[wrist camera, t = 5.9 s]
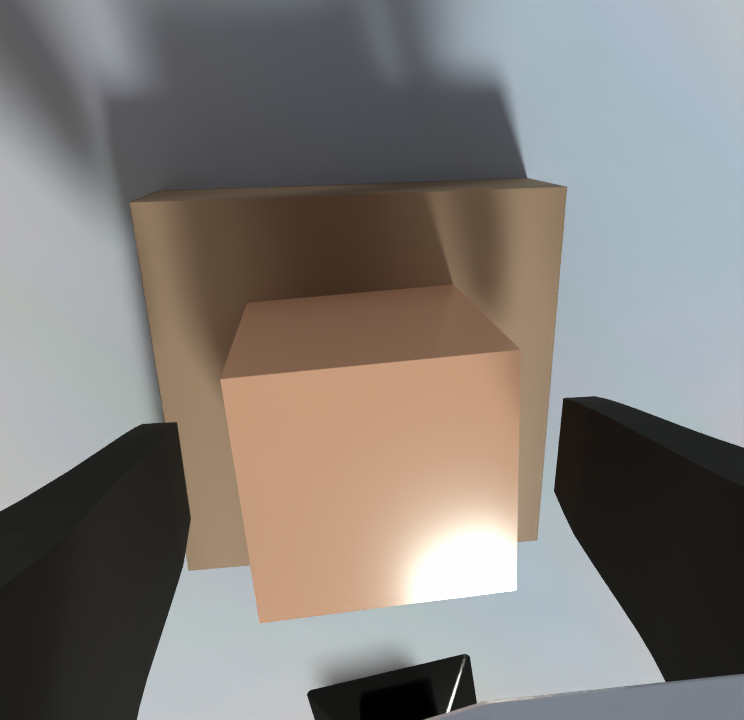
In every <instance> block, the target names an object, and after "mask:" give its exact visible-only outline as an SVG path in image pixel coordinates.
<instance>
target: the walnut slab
mask: <svg viewBox="0 0 744 720" xmlns="http://www.w3.org/2000/svg"><path fill="white" fill-rule="evenodd" d="M566 193H567V187H565V186H561V185H556V184H552V183H547V182H543V181H538V180H533V179H529V178H516V179H487V180H458V181H429V182H400V183H371V184H343V185H314V186H285V187H256V188H227V189H198V190H170V191H156V192H154V193H151V194H149V195H147V196H144V197H142V198H139V199H137V200H135V201H132V202H130V208H131V214H132V220H133V226H134V233H135V239H136V245H137V251H138V258H139V264H140V270H141V276H142V282H143V289H144V295H145V301H146V307H147V314H148V320H149V326H150V332H151V339H152V345H153V351H154V357H155V364H156V370H157V376H158V382H159V389H160V395H161V401H162V407H163V414H164V420H165V423H168V422H177V425H178V432H179V439H180V446H181V453H182V460H183V467H184V474H185V481H186V487H187V494H188V501H189V508H190V515H191V522H190V528H189V534H188V541H187V547H186V557H187V563H188V570H189V571H190V570H202V569H213V568H225V567H236V566H248V565H250V560H249V554H248V548H247V542H246V536H245V529H244V523H243V517H242V511H241V505H240V499H239V492H238V486H237V480H236V474H235V468H234V461H233V455H232V449H231V443H230V437H229V431H228V424H227V418H226V412H225V406H224V400H223V394H222V387H221V381H220V378H221V375H222V373H223V370H224V367H225V364H226V361H227V358H228V355H229V352H230V350H231V347H232V344H233V341H234V338H235V335H236V332H237V330H238V327H239V324H240V321H241V318H242V315H243V312H244V310H245V307H246V304H247V303H250V302H261V301H272V300H283V299H294V298H306V297H317V296H328V295H339V294H351V293H362V292H373V291H385V290H396V289H407V288H419V287H430V286H441V285H452V284H453V285H454V286H455V287H456V288H457V289H458V290H459V291H461V292H462V293H463V294H464V295H465V296H466V297H467V298H468V299H469V300H470V301H471V302H472V303H473V304H474V305H475V306H476V307H477V308H478V309H479V310H480V311H481V312H482V313H483V314H484V315H485V316H486V317H487V318H489V319H490V320H491V321H492V322H493V323H494V324H495V325H496V326H497V327H498V328H499V329H500V330H501V331H502V332H503V333H504V334H505V335H506V336H507V337H508V338H509V339H510V340H511V341H512V342H513V343H514V344H515V345H516V346H518V347H519V348H520V349H521V366H520V420H519V474H518V528H517V542H523V541H534V540H537V536H538V524H539V512H540V500H541V489H542V477H543V465H544V453H545V441H546V430H547V418H548V406H549V394H550V382H551V370H552V359H553V347H554V335H555V323H556V311H557V300H558V288H559V276H560V264H561V252H562V240H563V229H564V217H565V205H566Z"/></svg>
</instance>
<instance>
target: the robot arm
mask: <svg viewBox="0 0 744 720" xmlns="http://www.w3.org/2000/svg"><path fill="white" fill-rule="evenodd" d="M554 492H555V494H556V497H557V499H558V501H559V504H560V506H561V508H562V510H563V513H564V515H565V517H566V519H567V521H568V523H569V525H570V527H571V529H572V531H573V534H574V535H575V537H576V538H577V540H578V542H579V543H580V545H581V546H582V548H583V549H584V551H585V552H586V554H587V556H588V557H589V559H590V560H591V562H592V563H593V565H594V566H595V568H596V569H597V571H598V572H599V574H600V575H601V577H602V578H603V580H604V581H605V583H606V584H607V586H608V587H609V589H610V590H611V592H612V593H613V595H614V596H615V598H616V599H617V601H618V602H619V604H620V605H621V607H622V608H623V610H624V611H625V613H626V614H627V616H628V617H629V619H630V620H631V622H632V624H633V625H634V627H635V628H636V630H637V631H638V633H639V634H640V636H641V638H642V639H643V641H644V643H645V644H646V646H647V648H648V649H649V651H650V653H651V654H652V656H653V658H654V660H655V662H656V664H657V666H658V668H659V670H660V672H661V674H662V676H663V677H664V679H665V681H666V682H662V683H653V684H644V685H634V686H625V687H616V688H606V689H597V690H588V691H578V692H569V693H560V694H550V695H541V696H532V697H522V698H513V699H504V700H494V701H485V702H480V703H477V704H474V705H470V706H467V707H464V708H461V709H457V710H454V711H451V712H447V713H444V714H441V715H438V716H434V717H431V718H428V719H425V720H744V448H743V447H740V446H737V445H734V444H731V443H728V442H725V441H722V440H719V439H716V438H713V437H710V436H708V435H705V434H702V433H699V432H696V431H694V430H691V429H688V428H686V427H683V426H680V425H678V424H675V423H672V422H670V421H667V420H664V419H662V418H659V417H657V416H654V415H651V414H649V413H646V412H643V411H641V410H638V409H635V408H632V407H630V406H627V405H624V404H621V403H618V402H615V401H612V400H608V399H604V398H600V397H595V396H592V397H576V398H563V407H562V417H561V427H560V437H559V447H558V457H557V467H556V477H555V487H554ZM190 522H191V515H190V508H189V501H188V494H187V487H186V481H185V474H184V467H183V460H182V453H181V446H180V439H179V432H178V425H177V422H168V423H152V424H142V425H139V426H137V427H135V428H134V429H132V430H130V431H129V432H127V433H125V434H124V435H122V436H121V437H119V438H118V439H116V440H115V441H113V442H112V443H110V444H109V445H107V446H106V447H104V448H103V449H101V450H100V451H98V452H97V453H95V454H94V455H92V456H91V457H89V458H88V459H86V460H85V461H83V462H82V463H80V464H79V465H77V466H76V467H74V468H73V469H71V470H70V471H68V472H66V473H65V474H63V475H62V476H60V477H58V478H57V479H55V480H53V481H52V482H50V483H48V484H47V485H45V486H43V487H42V488H40V489H38V490H37V491H35V492H34V493H32V494H30V495H29V496H27V497H25V498H24V499H22V500H20V501H18V502H17V503H15V504H13V505H11V506H9V507H8V508H6V509H4V510H2V511H0V720H137V716H138V711H139V707H140V703H141V699H142V696H143V692H144V688H145V685H146V681H147V677H148V674H149V671H150V668H151V665H152V662H153V659H154V656H155V653H156V650H157V646H158V643H159V640H160V637H161V634H162V631H163V628H164V625H165V622H166V619H167V616H168V612H169V609H170V606H171V603H172V600H173V597H174V594H175V590H176V587H177V584H178V581H179V578H180V574H181V571H182V568H183V563H184V558H185V552H186V547H187V541H188V534H189V528H190Z"/></svg>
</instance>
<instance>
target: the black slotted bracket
mask: <svg viewBox="0 0 744 720" xmlns="http://www.w3.org/2000/svg"><path fill="white" fill-rule="evenodd" d="M307 696H308V699H309V703H310V706H311V709H312V712H313V715H314V719H315V720H425V719H428V718H431V717H434V716H438V715H441V714H444V713H447V712H451V711H454V710H457V709H461V708H464V707H467V706H470V705H474V704H477V701H476V695H475V688H474V681H473V675H472V668H471V662H470V657H469V655H467V654H463V655H458V656H454V657H450V658H446V659H441V660H437V661H433V662H429V663H424V664H420V665H416V666H411V667H407V668H403V669H399V670H394V671H390V672H386V673H382V674H377V675H373V676H369V677H365V678H360V679H356V680H352V681H348V682H343V683H339V684H335V685H331V686H326V687H322V688H318V689H314V690H310V691H309V692H308V694H307Z"/></svg>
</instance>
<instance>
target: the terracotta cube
mask: <svg viewBox="0 0 744 720" xmlns="http://www.w3.org/2000/svg"><path fill="white" fill-rule="evenodd" d="M520 366H521V349H520V348H519V347H518V346H516V345H515V344H514V343H513V342H512V341H511V340H510V339H509V338H508V337H507V336H506V335H505V334H504V333H503V332H502V331H501V330H500V329H499V328H498V327H497V326H496V325H495V324H494V323H493V322H492V321H491V320H490V319H489V318H487V317H486V316H485V315H484V314H483V313H482V312H481V311H480V310H479V309H478V308H477V307H476V306H475V305H474V304H473V303H472V302H471V301H470V300H469V299H468V298H467V297H466V296H465V295H464V294H463V293H462V292H461V291H459V290H458V289H457V288H456V287H455V286H454V285H453V284H452V285H441V286H430V287H419V288H407V289H396V290H385V291H373V292H362V293H351V294H339V295H328V296H317V297H306V298H294V299H283V300H272V301H261V302H250V303H247V304H246V307H245V310H244V312H243V315H242V318H241V321H240V324H239V327H238V330H237V332H236V335H235V338H234V341H233V344H232V347H231V350H230V352H229V355H228V358H227V361H226V364H225V367H224V370H223V373H222V375H221V378H220V381H221V387H222V394H223V400H224V406H225V412H226V418H227V424H228V431H229V437H230V443H231V449H232V455H233V461H234V468H235V474H236V480H237V486H238V492H239V499H240V505H241V511H242V517H243V523H244V529H245V536H246V542H247V548H248V554H249V560H250V566H251V573H252V579H253V585H254V591H255V597H256V604H257V610H258V616H259V622H260V623H265V622H273V621H281V620H288V619H296V618H304V617H312V616H319V615H327V614H335V613H343V612H351V611H358V610H366V609H374V608H382V607H389V606H397V605H405V604H413V603H421V602H428V601H436V600H444V599H452V598H460V597H467V596H475V595H483V594H491V593H498V592H506V591H514V590H516V582H517V528H518V474H519V420H520Z"/></svg>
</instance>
